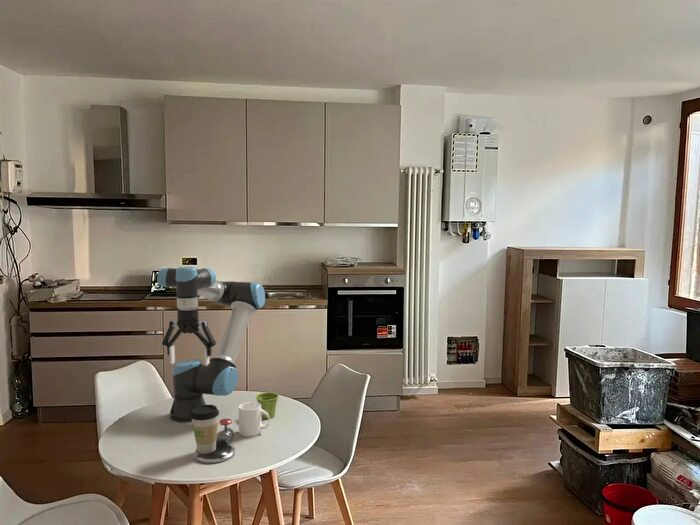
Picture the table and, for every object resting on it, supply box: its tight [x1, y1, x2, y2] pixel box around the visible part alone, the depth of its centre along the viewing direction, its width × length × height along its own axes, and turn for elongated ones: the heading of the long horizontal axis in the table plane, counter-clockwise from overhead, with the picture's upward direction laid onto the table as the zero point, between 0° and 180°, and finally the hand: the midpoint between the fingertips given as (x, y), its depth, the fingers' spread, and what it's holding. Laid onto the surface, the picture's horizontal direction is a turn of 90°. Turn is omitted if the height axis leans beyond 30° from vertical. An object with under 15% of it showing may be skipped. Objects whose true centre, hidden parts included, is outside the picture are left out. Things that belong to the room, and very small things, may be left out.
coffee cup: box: [190, 404, 220, 454], centre depth 188 cm, size 10×10×15 cm
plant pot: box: [255, 392, 279, 419], centre depth 223 cm, size 9×9×9 cm
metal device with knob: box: [193, 418, 236, 465], centre depth 191 cm, size 20×14×9 cm
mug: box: [238, 401, 271, 438], centre depth 206 cm, size 9×12×11 cm
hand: (189, 363), depth 200 cm, fingers open, 13 cm apart
